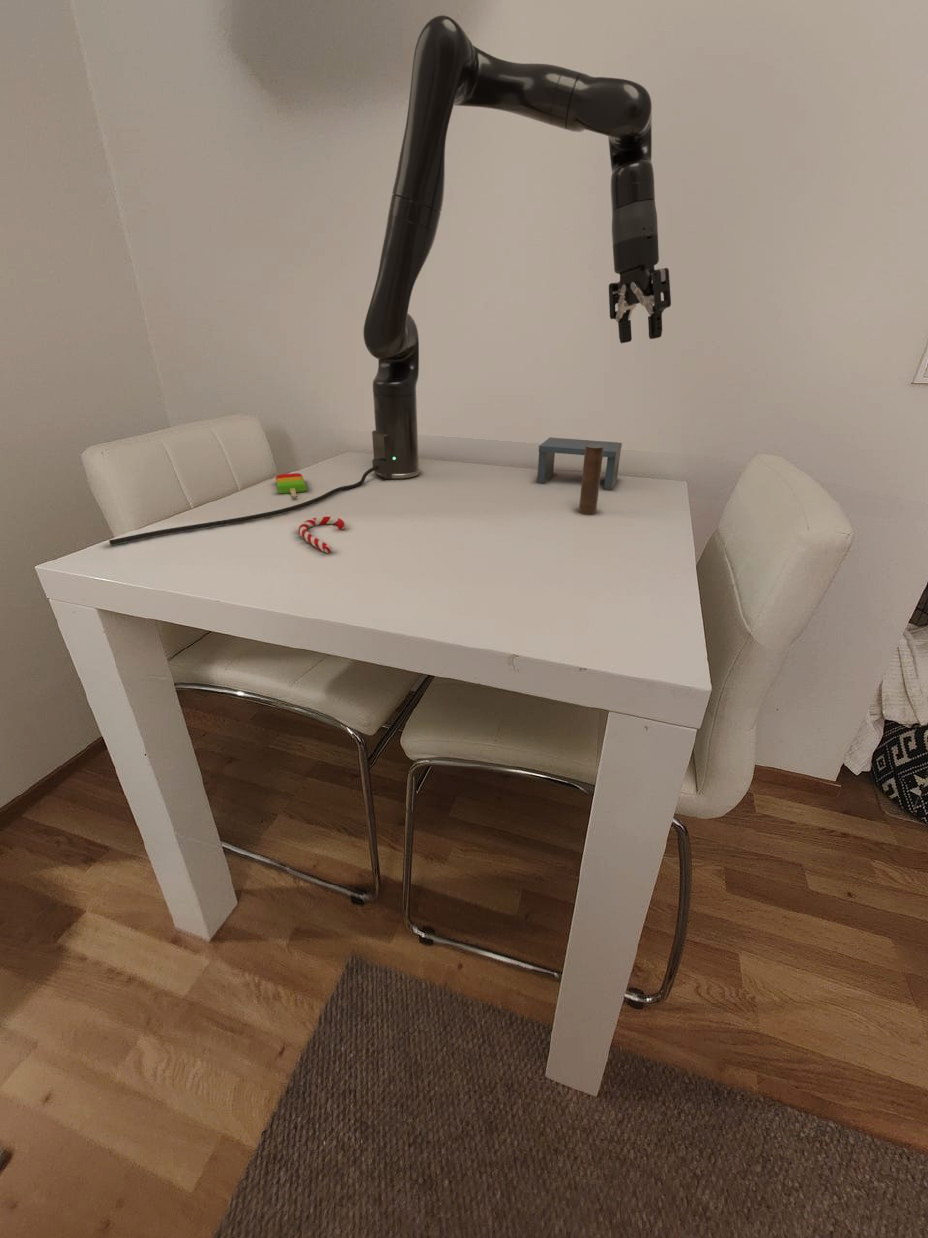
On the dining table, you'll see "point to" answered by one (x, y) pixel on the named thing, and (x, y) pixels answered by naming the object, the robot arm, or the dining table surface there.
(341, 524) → the candy cane
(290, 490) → the popsicle
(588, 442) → the shelf
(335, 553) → the dining table surface
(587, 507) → the stick
